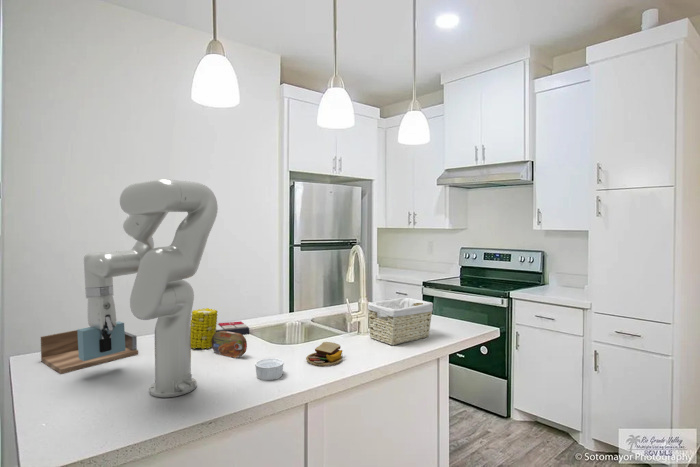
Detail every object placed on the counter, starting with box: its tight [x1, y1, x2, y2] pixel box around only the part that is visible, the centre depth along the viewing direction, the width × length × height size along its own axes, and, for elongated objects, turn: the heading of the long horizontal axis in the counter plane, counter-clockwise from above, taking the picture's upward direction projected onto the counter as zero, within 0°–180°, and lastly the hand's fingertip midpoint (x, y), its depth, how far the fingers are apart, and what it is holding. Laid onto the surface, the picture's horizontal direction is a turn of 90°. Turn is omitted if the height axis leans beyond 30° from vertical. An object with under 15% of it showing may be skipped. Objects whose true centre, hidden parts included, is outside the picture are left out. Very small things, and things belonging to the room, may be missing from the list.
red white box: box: [216, 321, 250, 336], centre depth 178 cm, size 11×4×15 cm
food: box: [190, 307, 218, 350], centre depth 160 cm, size 15×12×10 cm
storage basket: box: [367, 297, 434, 346], centre depth 173 cm, size 24×16×15 cm
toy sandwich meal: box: [305, 341, 343, 367], centre depth 146 cm, size 12×14×5 cm
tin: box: [211, 331, 248, 359], centre depth 150 cm, size 15×3×8 cm, turn 62°
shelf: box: [40, 329, 139, 375], centre depth 146 cm, size 18×24×8 cm
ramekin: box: [254, 357, 285, 381], centre depth 131 cm, size 9×9×4 cm
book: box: [76, 321, 126, 361], centre depth 131 cm, size 4×12×9 cm, turn 142°
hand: (102, 349), depth 132 cm, fingers closed on book, 4 cm apart
